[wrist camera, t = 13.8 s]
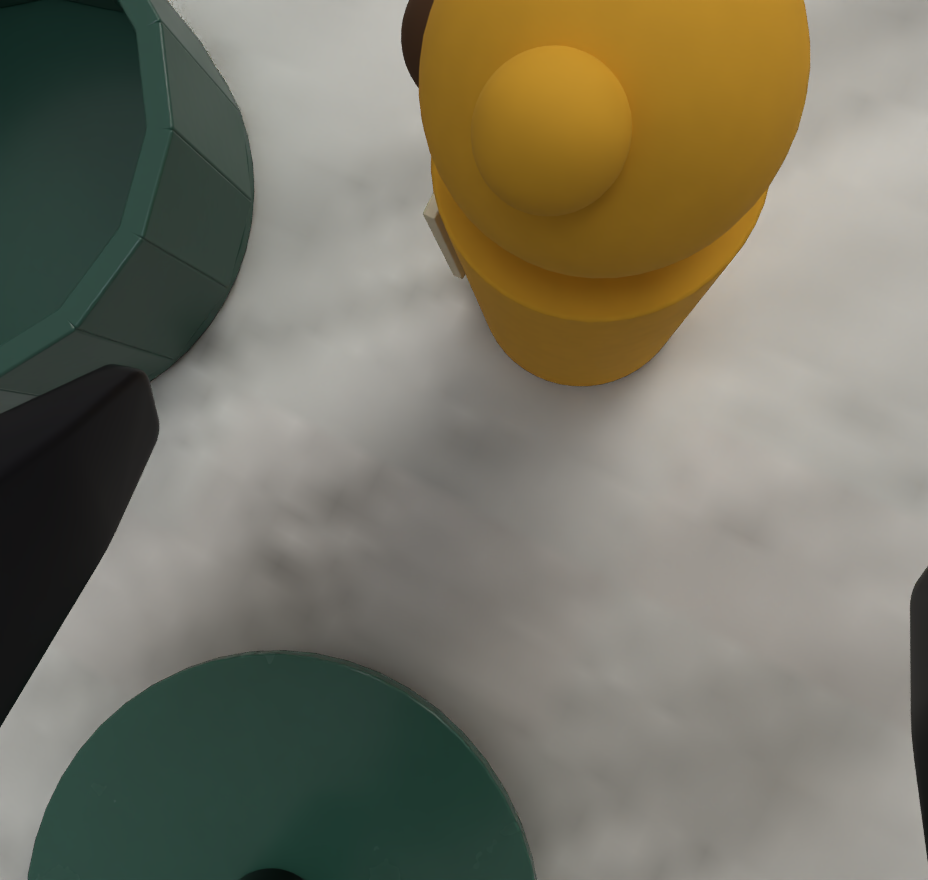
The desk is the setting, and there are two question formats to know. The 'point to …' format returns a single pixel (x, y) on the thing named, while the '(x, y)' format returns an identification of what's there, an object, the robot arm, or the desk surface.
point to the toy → (600, 160)
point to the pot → (112, 190)
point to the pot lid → (279, 783)
